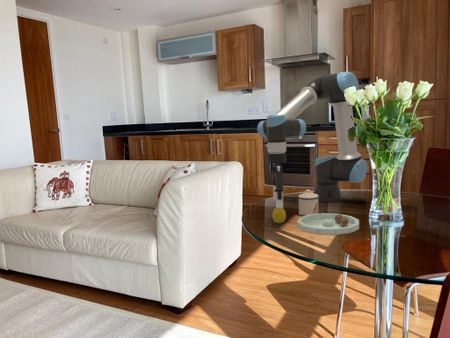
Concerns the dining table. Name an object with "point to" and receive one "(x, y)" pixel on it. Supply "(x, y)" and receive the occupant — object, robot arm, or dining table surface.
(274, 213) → the lemon
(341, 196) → the robot arm
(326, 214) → the tray
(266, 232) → the dining table surface
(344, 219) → the walnut bead
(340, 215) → the walnut bead
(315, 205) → the teacup with lid
